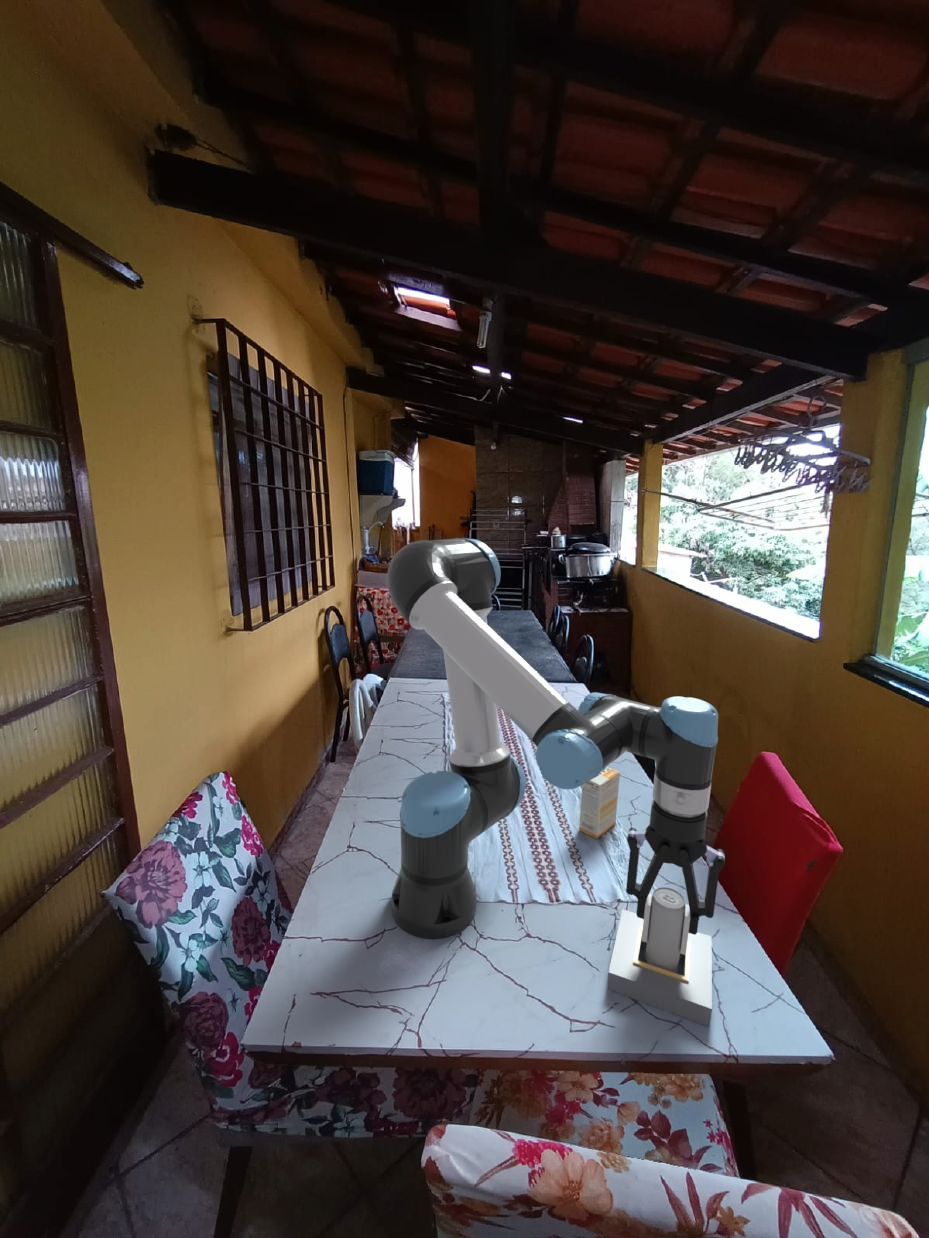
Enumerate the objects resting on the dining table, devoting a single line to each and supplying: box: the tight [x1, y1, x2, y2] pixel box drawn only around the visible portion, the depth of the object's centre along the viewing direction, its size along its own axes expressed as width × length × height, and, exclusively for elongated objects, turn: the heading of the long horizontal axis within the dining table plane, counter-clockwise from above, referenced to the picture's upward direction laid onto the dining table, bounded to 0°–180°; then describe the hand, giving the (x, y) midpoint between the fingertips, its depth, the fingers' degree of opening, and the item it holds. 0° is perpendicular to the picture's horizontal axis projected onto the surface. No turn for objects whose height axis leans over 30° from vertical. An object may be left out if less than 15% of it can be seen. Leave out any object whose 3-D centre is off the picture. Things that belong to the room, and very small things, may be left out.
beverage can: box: [644, 886, 686, 973], centre depth 82 cm, size 5×5×12 cm
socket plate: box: [606, 908, 713, 1028], centre depth 83 cm, size 14×14×3 cm
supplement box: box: [578, 766, 621, 839], centre depth 119 cm, size 8×5×13 cm, turn 134°
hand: (663, 941), depth 83 cm, fingers closed on beverage can, 5 cm apart
